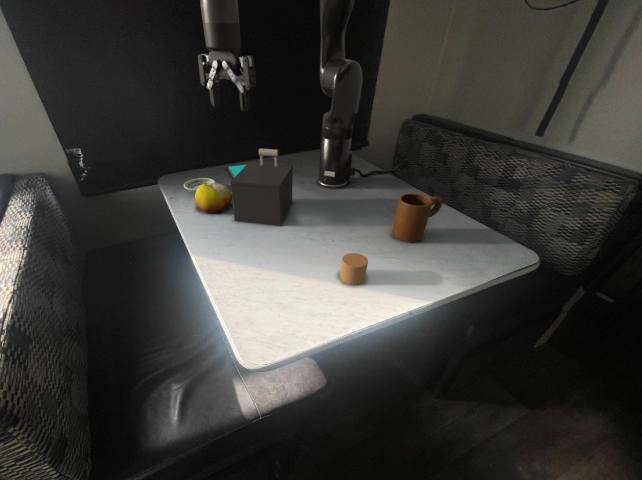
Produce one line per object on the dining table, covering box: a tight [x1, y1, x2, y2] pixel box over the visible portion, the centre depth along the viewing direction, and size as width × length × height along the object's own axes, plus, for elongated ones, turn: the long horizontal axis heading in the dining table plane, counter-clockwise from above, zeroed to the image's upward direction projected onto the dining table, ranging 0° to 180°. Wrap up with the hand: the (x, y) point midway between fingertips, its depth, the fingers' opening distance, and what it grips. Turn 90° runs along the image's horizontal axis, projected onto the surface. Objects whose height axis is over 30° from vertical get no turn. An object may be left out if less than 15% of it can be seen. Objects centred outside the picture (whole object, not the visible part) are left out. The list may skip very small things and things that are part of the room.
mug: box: [391, 193, 443, 243], centre depth 81 cm, size 12×8×9 cm, turn 112°
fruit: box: [194, 182, 233, 215], centre depth 94 cm, size 11×10×8 cm
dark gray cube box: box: [230, 168, 294, 227], centre depth 90 cm, size 15×13×10 cm
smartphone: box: [227, 164, 247, 179], centre depth 115 cm, size 7×1×15 cm
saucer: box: [183, 177, 216, 194], centre depth 104 cm, size 10×10×2 cm
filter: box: [339, 252, 369, 286], centre depth 68 cm, size 5×5×4 cm
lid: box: [230, 148, 294, 189], centre depth 86 cm, size 15×13×5 cm
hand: (230, 108), depth 79 cm, fingers open, 8 cm apart
